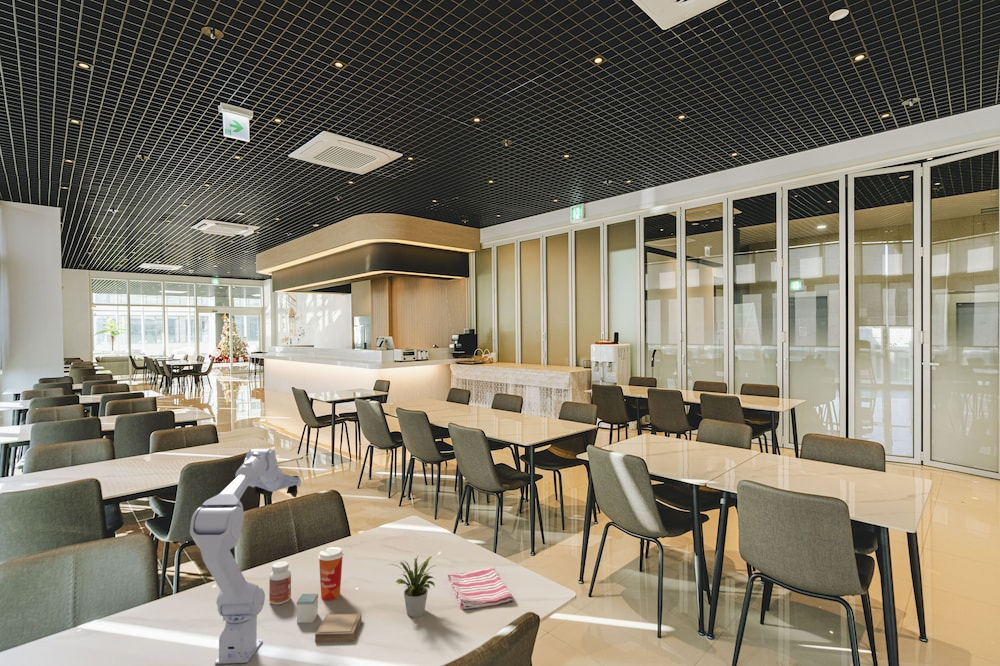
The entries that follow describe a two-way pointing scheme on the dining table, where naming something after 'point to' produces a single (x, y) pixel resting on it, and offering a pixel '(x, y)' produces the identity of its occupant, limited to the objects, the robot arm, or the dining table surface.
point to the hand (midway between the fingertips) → (283, 494)
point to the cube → (307, 608)
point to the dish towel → (479, 588)
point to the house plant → (416, 588)
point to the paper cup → (330, 572)
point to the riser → (338, 627)
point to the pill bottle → (280, 583)
